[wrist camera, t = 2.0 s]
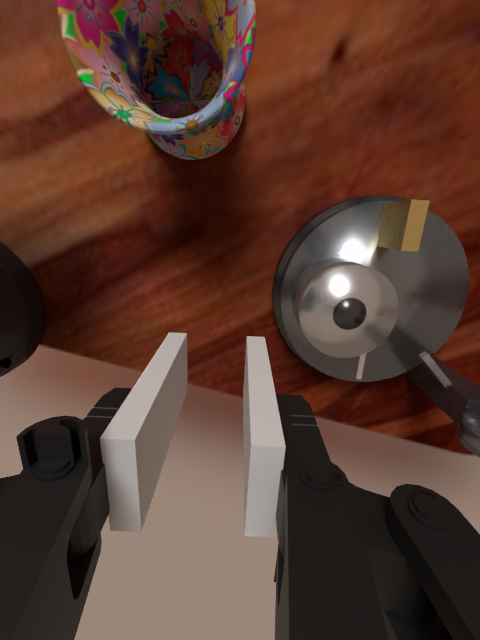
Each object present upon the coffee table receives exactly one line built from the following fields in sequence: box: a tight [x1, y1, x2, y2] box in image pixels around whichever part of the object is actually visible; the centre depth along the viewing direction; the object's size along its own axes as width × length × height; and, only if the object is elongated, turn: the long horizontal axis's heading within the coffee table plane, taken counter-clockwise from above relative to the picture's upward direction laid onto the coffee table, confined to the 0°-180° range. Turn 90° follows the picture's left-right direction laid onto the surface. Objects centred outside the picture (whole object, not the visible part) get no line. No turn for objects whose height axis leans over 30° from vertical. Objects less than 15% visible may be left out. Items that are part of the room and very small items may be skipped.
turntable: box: [279, 200, 469, 382], centre depth 25 cm, size 16×16×6 cm
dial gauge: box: [407, 351, 480, 457], centre depth 25 cm, size 6×5×13 cm
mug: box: [57, 0, 256, 160], centre depth 19 cm, size 12×9×11 cm
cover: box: [291, 258, 399, 358], centre depth 24 cm, size 7×7×5 cm
